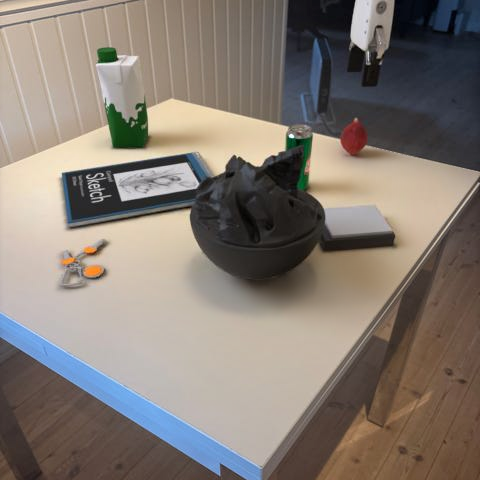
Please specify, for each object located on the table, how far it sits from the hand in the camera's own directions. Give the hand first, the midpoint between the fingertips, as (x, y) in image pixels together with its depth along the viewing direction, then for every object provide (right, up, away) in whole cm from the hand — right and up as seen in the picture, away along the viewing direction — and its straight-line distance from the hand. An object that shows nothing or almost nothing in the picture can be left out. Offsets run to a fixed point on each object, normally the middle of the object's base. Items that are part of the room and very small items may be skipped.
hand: (361, 78), depth 100 cm
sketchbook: (-45, -23, -1) cm, 50 cm away
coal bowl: (-22, -41, -21) cm, 51 cm away
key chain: (-51, -40, -20) cm, 68 cm away
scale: (-5, -34, -14) cm, 37 cm away
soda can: (-14, -23, -1) cm, 27 cm away
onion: (+1, -12, +11) cm, 16 cm away
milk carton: (-51, -7, +17) cm, 54 cm away
